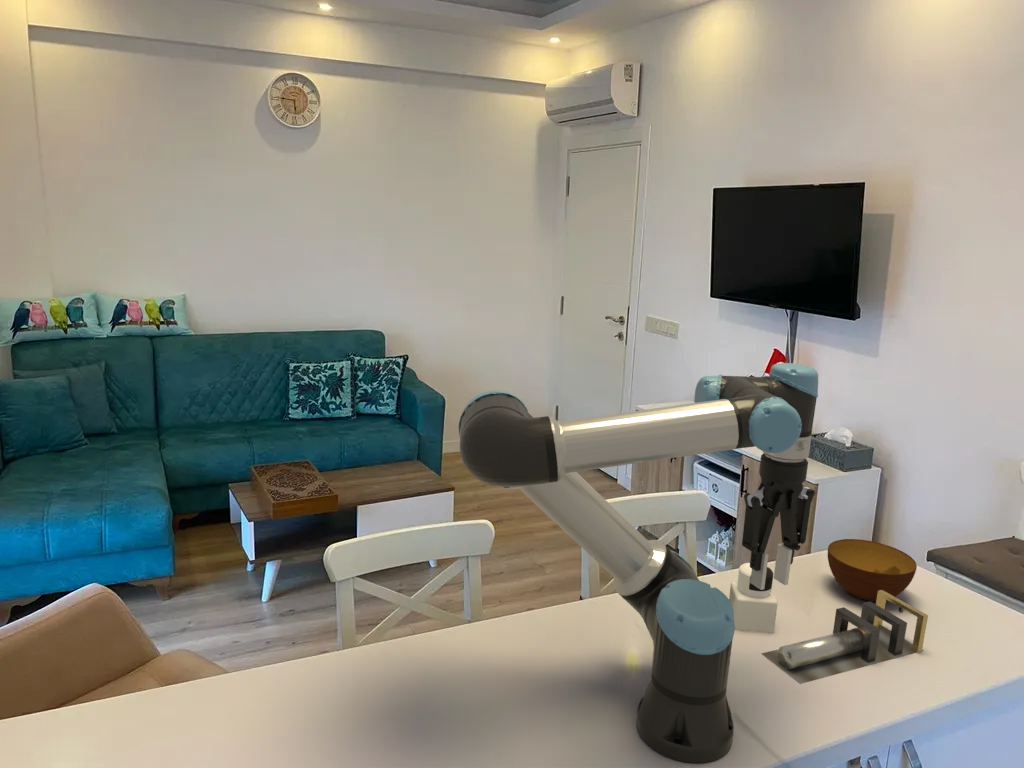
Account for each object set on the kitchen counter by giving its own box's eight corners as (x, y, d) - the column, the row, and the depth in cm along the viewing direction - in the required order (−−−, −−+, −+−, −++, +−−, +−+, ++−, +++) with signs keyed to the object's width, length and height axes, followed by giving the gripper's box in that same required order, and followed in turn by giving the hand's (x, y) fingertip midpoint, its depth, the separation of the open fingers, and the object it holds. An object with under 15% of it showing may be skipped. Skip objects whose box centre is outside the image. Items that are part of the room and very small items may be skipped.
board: (799, 689, 131) (799, 684, 131) (760, 658, 140) (760, 653, 140) (923, 655, 144) (924, 650, 143) (880, 629, 152) (880, 624, 152)
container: (764, 617, 155) (771, 560, 152) (773, 638, 148) (781, 577, 145) (726, 614, 156) (733, 557, 153) (733, 634, 148) (740, 574, 146)
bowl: (912, 593, 168) (919, 552, 166) (905, 627, 154) (913, 582, 151) (829, 571, 177) (835, 532, 175) (815, 601, 163) (821, 559, 160)
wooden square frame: (917, 653, 142) (923, 616, 141) (872, 625, 152) (877, 590, 150) (921, 652, 143) (928, 615, 141) (876, 624, 152) (882, 589, 150)
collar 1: (867, 662, 139) (872, 631, 137) (831, 639, 146) (836, 608, 145) (875, 660, 139) (880, 629, 138) (839, 637, 147) (844, 607, 146)
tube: (792, 674, 134) (795, 654, 133) (775, 660, 138) (779, 641, 137) (873, 653, 142) (877, 634, 141) (856, 640, 146) (860, 621, 145)
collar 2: (894, 655, 141) (899, 624, 140) (858, 632, 149) (862, 603, 147) (902, 653, 142) (907, 622, 141) (865, 630, 150) (870, 601, 148)
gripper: (758, 468, 118) (743, 602, 123) (841, 458, 125) (823, 585, 130) (727, 453, 125) (714, 581, 130) (808, 445, 132) (792, 567, 137)
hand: (769, 583), depth 130 cm, fingers open, 4 cm apart
